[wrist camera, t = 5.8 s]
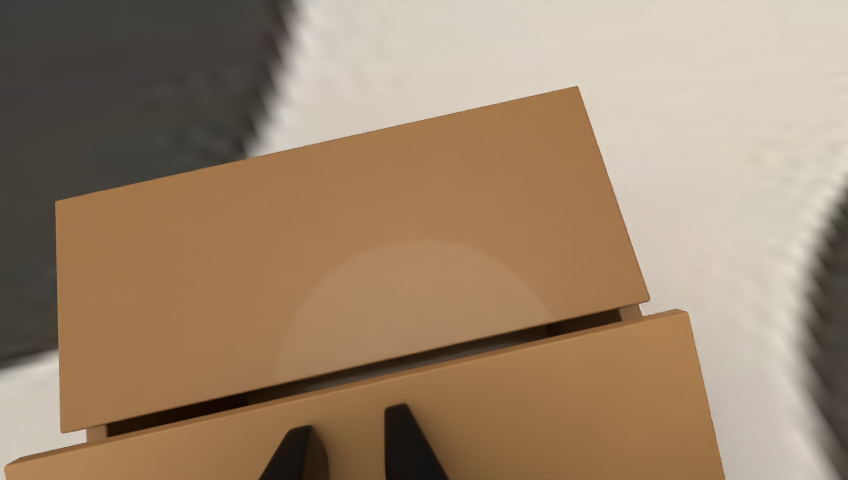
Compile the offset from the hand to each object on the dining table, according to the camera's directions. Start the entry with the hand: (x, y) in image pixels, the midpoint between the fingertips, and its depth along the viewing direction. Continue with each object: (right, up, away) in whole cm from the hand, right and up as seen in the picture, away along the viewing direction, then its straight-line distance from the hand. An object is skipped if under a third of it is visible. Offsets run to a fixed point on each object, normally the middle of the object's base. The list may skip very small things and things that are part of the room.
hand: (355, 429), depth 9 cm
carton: (0, -2, +11) cm, 11 cm away
